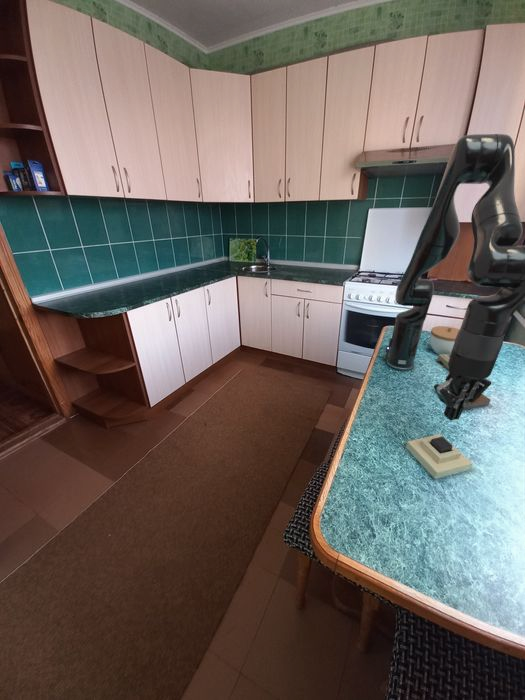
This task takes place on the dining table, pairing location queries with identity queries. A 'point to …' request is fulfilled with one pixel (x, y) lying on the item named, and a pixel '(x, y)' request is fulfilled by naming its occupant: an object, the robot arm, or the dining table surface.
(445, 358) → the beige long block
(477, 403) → the brown stepped square base
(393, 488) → the dining table surface
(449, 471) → the beige stepped square base
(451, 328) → the lidded bowl
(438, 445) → the key front
